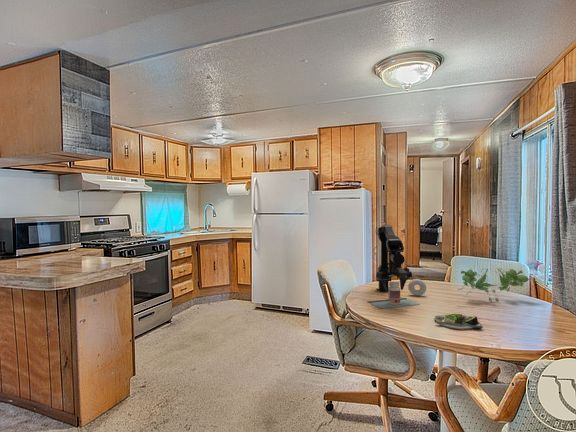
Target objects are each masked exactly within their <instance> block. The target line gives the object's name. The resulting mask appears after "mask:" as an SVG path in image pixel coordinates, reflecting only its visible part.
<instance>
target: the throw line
mask: <svg viewBox="0 0 576 432" xmlns="http://www.w3.org/2000/svg"><path fill="white" fill-rule="evenodd" d="M405 299H408V298H407V297H400V300H405ZM384 301H388V298H387V299H378V300H368V301H367V303H369V304H370V303H374V302H384Z"/></svg>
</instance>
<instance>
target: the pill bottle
mask: <svg viewBox="0 0 576 432" xmlns="http://www.w3.org/2000/svg"><path fill="white" fill-rule="evenodd" d="M388 284H389V288H388V291H387V293H388V296H387V297H388V298H387V299H388V301H389V303H390V304H393V305H398V304H400V298H401V287H400V281H388Z"/></svg>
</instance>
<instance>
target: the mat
mask: <svg viewBox="0 0 576 432" xmlns="http://www.w3.org/2000/svg"><path fill="white" fill-rule="evenodd" d="M369 304H370V305H371V306H374V307H376V308H377V309H381V310H382V309H390V308H400V307H408V306H409V307H410V306H411V307H412V306H419V305H420V303H419V302H416V301H415V300H414V301H413V300H412V299H408V298H407V299H403V300H400V304H398V305H393V304H390V303H389V301H382V302H372V303H369Z"/></svg>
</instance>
